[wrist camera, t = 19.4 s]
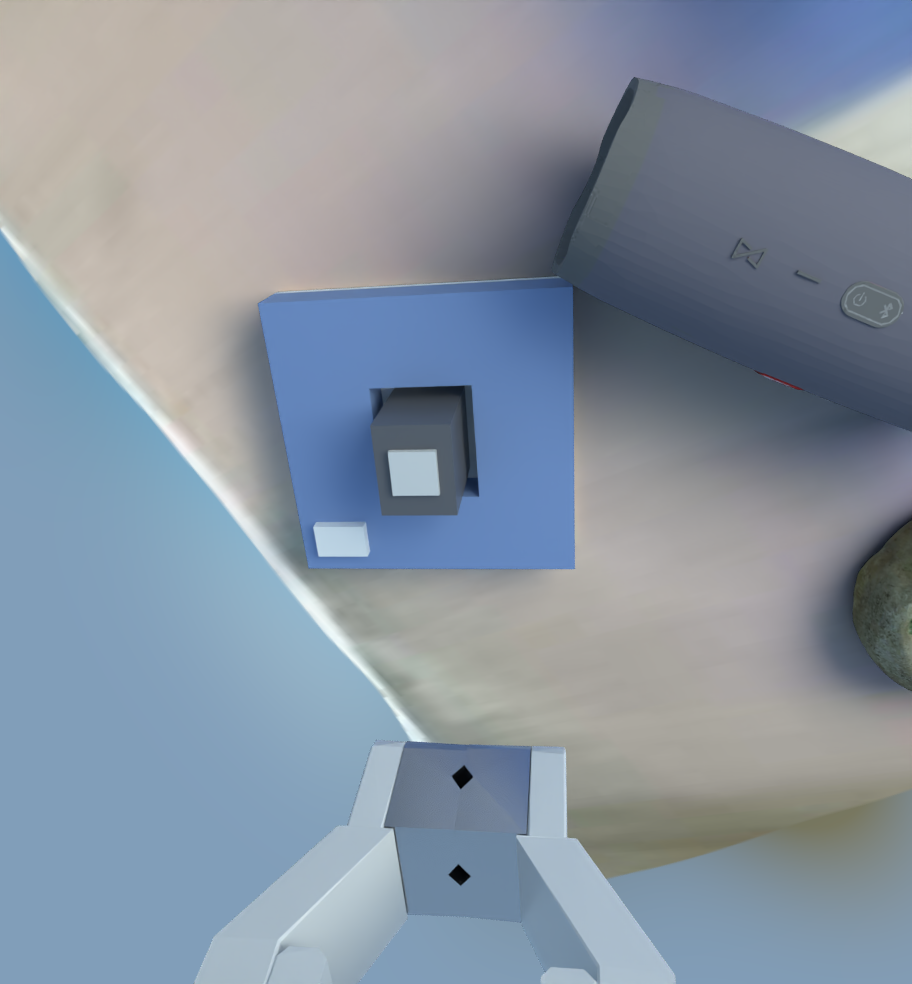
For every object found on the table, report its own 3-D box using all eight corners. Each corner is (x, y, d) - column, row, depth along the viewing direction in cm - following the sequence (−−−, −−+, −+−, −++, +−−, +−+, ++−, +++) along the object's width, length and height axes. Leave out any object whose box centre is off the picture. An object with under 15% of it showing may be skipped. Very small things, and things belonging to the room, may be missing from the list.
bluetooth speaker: (547, 265, 38) (543, 307, 29) (628, 71, 34) (653, 51, 25) (939, 427, 39) (1051, 516, 30) (1066, 260, 35) (1239, 305, 26)
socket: (277, 291, 40) (253, 305, 37) (572, 275, 38) (573, 289, 35) (322, 543, 47) (305, 573, 44) (573, 542, 45) (574, 574, 42)
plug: (394, 387, 41) (368, 428, 36) (464, 385, 41) (449, 426, 35) (403, 468, 44) (380, 518, 38) (470, 467, 43) (456, 518, 37)
